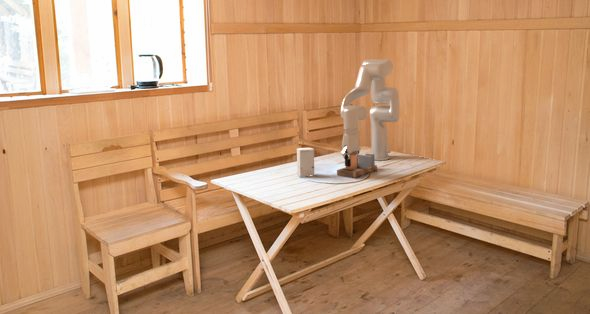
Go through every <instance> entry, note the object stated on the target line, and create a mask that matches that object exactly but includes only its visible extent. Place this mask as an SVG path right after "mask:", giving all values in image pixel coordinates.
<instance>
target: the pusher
mask: <svg viewBox="0 0 590 314" xmlns="http://www.w3.org/2000/svg"><path fill="white" fill-rule="evenodd" d="M358 155H359V156H358V167H359V168H368V167H371V166H374V165H376V164H375V163H376V162H375V161H376V160H375V154H371V153H368V152H367V153H365V154H358Z"/></svg>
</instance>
